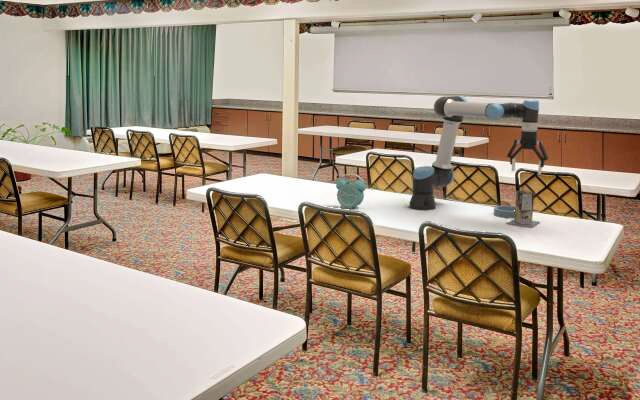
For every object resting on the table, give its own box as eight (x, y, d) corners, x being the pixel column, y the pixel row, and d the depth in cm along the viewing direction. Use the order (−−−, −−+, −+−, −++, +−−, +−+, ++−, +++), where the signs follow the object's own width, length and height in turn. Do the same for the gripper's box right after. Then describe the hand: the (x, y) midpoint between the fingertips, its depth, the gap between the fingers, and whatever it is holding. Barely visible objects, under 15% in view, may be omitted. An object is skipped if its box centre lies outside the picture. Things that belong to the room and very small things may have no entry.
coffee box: (532, 224, 316) (534, 193, 312) (520, 224, 315) (522, 193, 312) (525, 220, 325) (527, 190, 321) (513, 220, 324) (515, 190, 321)
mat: (506, 224, 318) (506, 222, 318) (515, 219, 329) (515, 218, 329) (531, 227, 311) (531, 226, 311) (539, 222, 321) (539, 221, 321)
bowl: (489, 215, 337) (490, 209, 337) (500, 210, 350) (500, 204, 349) (518, 219, 328) (518, 213, 328) (527, 214, 341) (527, 208, 340)
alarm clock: (333, 208, 355) (333, 173, 351) (339, 205, 364) (339, 171, 360) (361, 210, 349) (362, 175, 345) (367, 207, 357) (367, 173, 353)
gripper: (502, 129, 315) (499, 170, 319) (552, 132, 300) (548, 175, 305) (507, 128, 321) (504, 169, 325) (556, 131, 306) (553, 173, 311)
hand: (526, 172), depth 315 cm, fingers open, 13 cm apart
